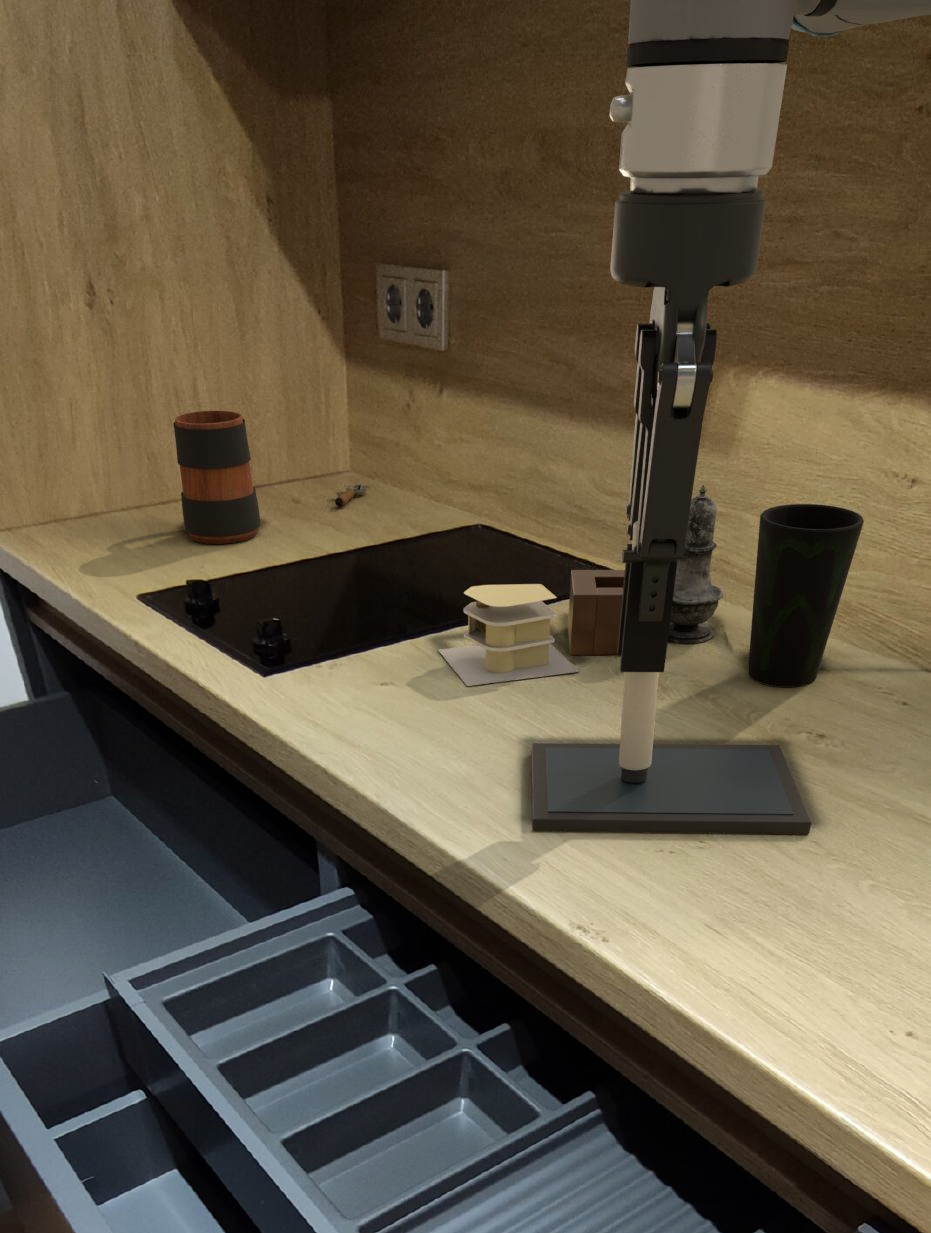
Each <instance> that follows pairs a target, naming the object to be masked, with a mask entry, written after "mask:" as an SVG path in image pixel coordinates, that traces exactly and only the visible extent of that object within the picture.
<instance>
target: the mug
mask: <svg viewBox="0 0 931 1233" xmlns="http://www.w3.org/2000/svg"><path fill="white" fill-rule="evenodd" d="M172 426H173V431H174V439H175V447H176V460H177V465H179V472H180V480H181V487H182V491H181V493H180V498H181V499H180V500H181V509H182V517H183V524H184V530H185V532H186V533H187V534H188V535H189V537H190V539H191V540H193V541H195V542H196V543H200V544H206V545H229V544H237V543H241V542H245V541H248V540H250V539H253V538H255V537H256V536H257V534H258V532H259V528H260V527H261V515H260V507H259V502H258V496H257V490H256V488H255V487H254V485H253V484H254V483H253V478H252V470H251V464H250V461H251V459H252V457H251V451H250V446H249V441H248V434H247V427H246V426H247V425H246V420H245V419H244V418H243V415H242V413H239V412H236V411H231V410H199V411H192V412H186V413H183V414H180V415H178V416H176V417H175V418H174V422H173V425H172Z"/></svg>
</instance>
